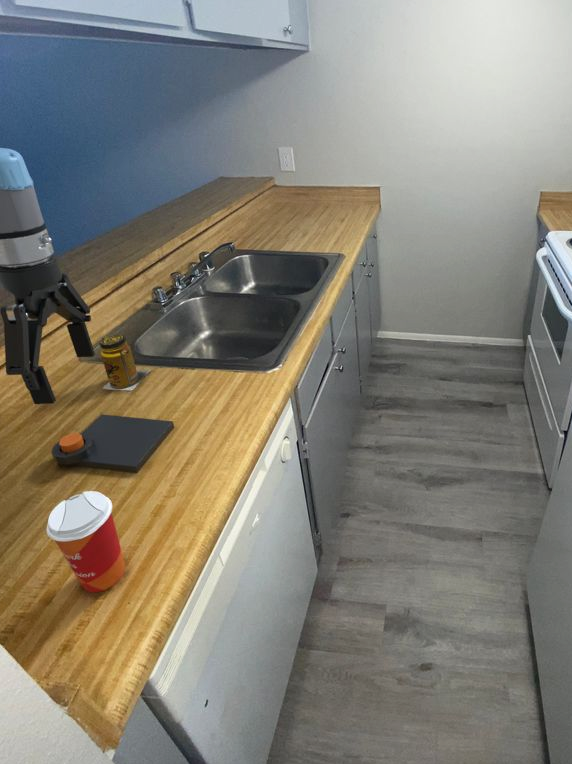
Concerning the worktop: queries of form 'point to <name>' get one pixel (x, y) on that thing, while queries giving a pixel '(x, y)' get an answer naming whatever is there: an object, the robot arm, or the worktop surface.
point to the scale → (116, 443)
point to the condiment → (120, 364)
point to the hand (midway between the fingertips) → (67, 377)
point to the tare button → (71, 442)
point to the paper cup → (88, 539)
